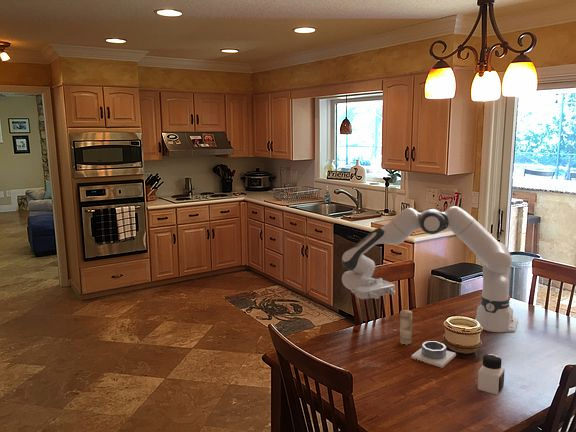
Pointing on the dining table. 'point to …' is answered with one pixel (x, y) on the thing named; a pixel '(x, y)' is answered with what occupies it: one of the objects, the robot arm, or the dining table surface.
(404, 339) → the wooden pin
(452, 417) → the dining table surface
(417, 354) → the socket board
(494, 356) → the medicine bottle
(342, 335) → the dining table surface
